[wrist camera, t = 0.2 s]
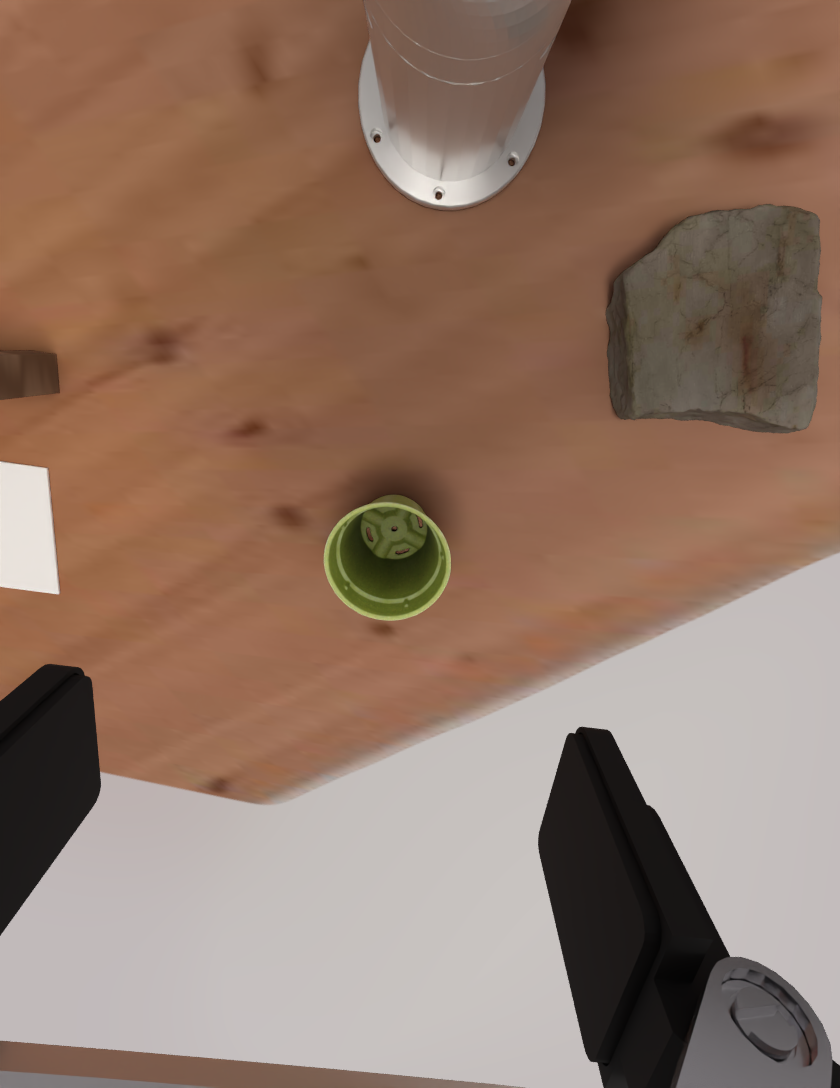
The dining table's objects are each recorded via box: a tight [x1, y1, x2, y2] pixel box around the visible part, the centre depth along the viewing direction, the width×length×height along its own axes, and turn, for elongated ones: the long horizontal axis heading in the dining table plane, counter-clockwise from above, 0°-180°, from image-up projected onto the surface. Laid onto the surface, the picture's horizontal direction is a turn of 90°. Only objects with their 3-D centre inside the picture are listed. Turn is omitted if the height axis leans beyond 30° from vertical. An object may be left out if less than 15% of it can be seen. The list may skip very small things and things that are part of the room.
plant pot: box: [324, 495, 451, 620], centre depth 43 cm, size 9×9×9 cm
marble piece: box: [606, 204, 822, 433], centre depth 40 cm, size 17×15×4 cm
